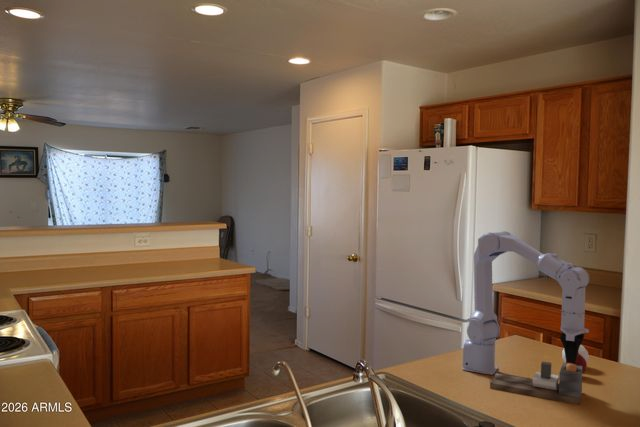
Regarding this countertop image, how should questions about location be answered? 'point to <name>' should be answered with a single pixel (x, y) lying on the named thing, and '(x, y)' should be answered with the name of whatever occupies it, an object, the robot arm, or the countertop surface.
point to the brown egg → (571, 367)
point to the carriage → (545, 377)
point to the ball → (581, 351)
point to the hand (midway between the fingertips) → (571, 360)
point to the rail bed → (565, 392)
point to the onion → (580, 362)
